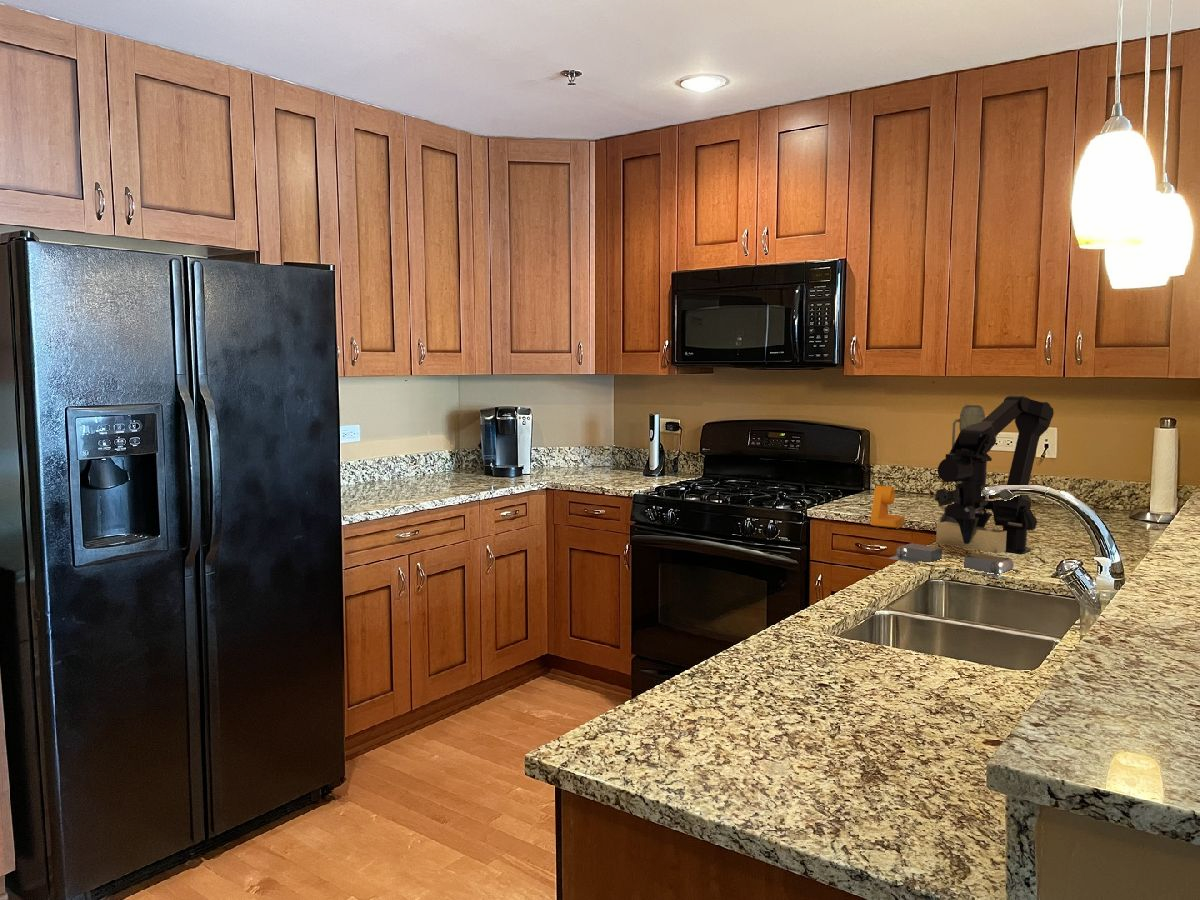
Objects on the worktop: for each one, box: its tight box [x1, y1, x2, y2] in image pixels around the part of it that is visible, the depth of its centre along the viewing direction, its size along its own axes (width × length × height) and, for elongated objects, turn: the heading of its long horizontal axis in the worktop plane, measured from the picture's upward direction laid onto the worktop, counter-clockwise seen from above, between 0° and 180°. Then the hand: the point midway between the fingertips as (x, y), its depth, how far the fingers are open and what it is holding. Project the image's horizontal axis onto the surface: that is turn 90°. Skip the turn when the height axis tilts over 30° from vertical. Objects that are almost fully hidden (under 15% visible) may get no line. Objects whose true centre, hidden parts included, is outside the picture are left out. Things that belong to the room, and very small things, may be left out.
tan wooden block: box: [935, 522, 1007, 554], centre depth 219 cm, size 4×16×5 cm, turn 38°
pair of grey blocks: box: [888, 543, 1021, 579], centre depth 213 cm, size 10×28×3 cm, turn 45°
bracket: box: [870, 485, 905, 530], centre depth 264 cm, size 11×7×12 cm, turn 147°
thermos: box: [951, 404, 986, 504], centre depth 292 cm, size 9×12×35 cm
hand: (970, 542), depth 219 cm, fingers closed on tan wooden block, 4 cm apart
